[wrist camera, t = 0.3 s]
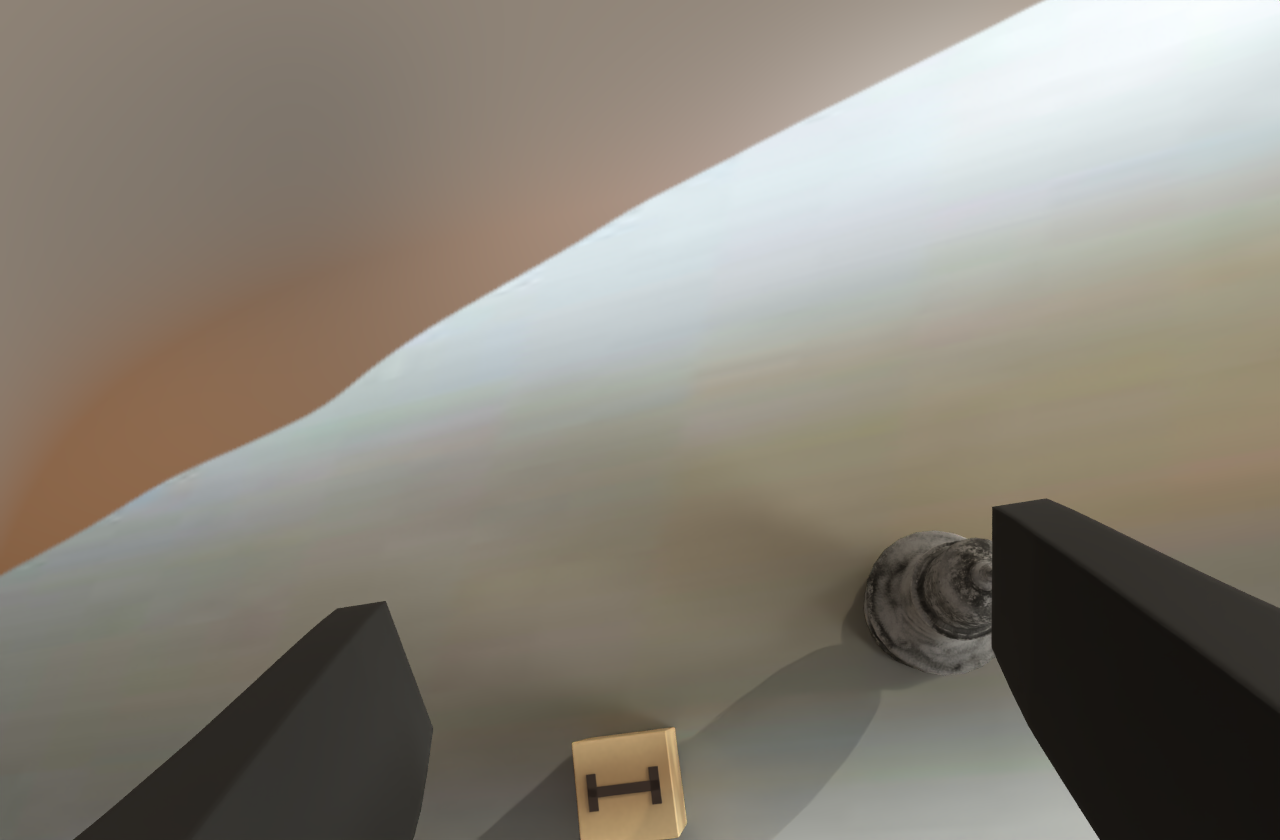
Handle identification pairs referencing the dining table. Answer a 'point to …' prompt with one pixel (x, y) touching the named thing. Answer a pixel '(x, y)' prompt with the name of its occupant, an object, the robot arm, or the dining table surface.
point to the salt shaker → (933, 602)
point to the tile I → (629, 786)
